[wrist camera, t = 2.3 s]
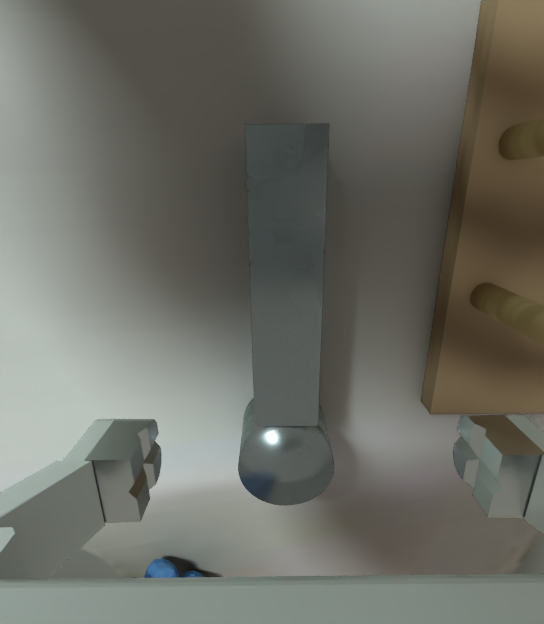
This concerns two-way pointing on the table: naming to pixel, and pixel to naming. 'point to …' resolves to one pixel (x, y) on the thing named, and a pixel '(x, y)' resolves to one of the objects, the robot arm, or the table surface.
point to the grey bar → (286, 313)
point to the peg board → (495, 229)
